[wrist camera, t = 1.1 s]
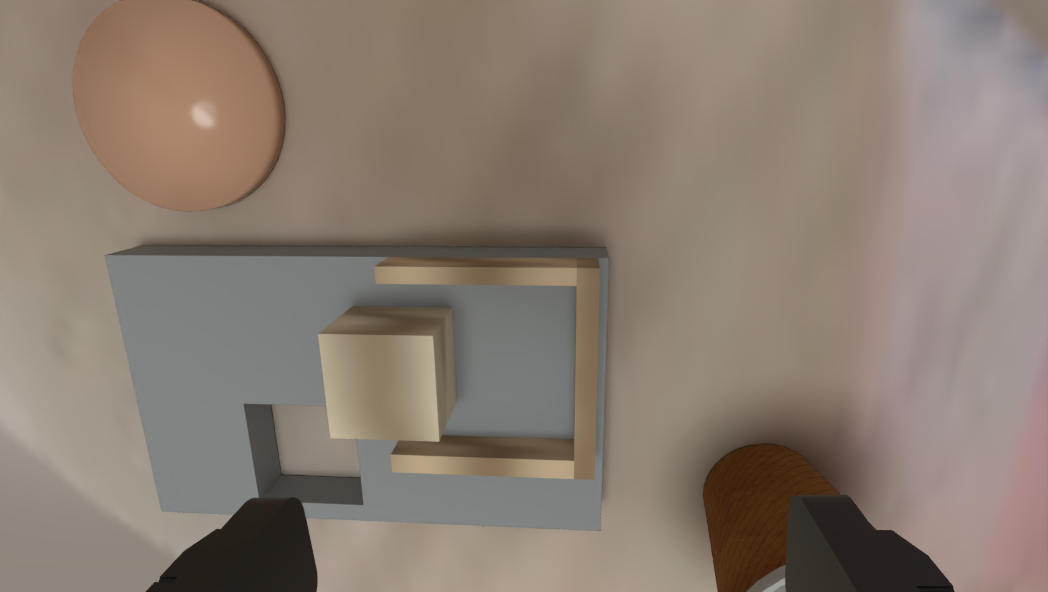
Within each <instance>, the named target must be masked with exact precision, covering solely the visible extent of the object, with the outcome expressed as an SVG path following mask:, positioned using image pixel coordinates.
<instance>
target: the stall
mask: <svg viewBox="0 0 1048 592" xmlns="http://www.w3.org/2000/svg"><path fill="white" fill-rule="evenodd" d="M374 270H375V281H376V284H440V285H539V286H576V330H575V400H574V439H549V438H517V437H486V436H455V435H442V437H441V439H440V441H439V442H433V441H403V440H398V442H397V444H396V446H395V448H394V449H393V451H392V453H391V465H392V472H397V473H424V474H451V475H477V476H504V477H530V478H557V479H584V480H595V444H596V406H597V368H598V330H599V292H600V265H599V260H598V258H476V257H387V258H386V259H384V260H383V261H382V262H380V263H379V264H377V265H376V266H374Z"/></svg>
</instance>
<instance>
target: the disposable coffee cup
mask: <svg viewBox="0 0 1048 592" xmlns="http://www.w3.org/2000/svg"><path fill="white" fill-rule="evenodd" d="M794 495H841V494H840V493H839V492H838V491H837V490H836V489H835V488H834V487H833V486H832V485H830V483H829V482H828V481H827V480H826V479H825V478H823V476H822V475H820V474H819V473H818V472H817V470H815V469H814V468H813V467H812V466H811V465H810V464H809V463H808V462H807V460H806V459H805V458H804V457H802V456H801V455H799V454H798V453H796V452H795V451H792V450H790V449H788V448H786V447H782V446H777V445H770V444H759V445H752V446H747V447H744V448H741V449H738V450H735V451H733V452H731V453H730V454H728V455H727V456H725V457H724V458H722V459H721V460H720V461H719V462H718V463H717V464H716V465H715V466H714V467H713V469H712V470H711V472H710V474H709V475H708V477H707V479H706V482H705V485H704V492H703V498H704V505H705V511H706V518H707V524H708V530H709V537H710V543H711V550H712V557H713V564H714V570H715V576H716V583H717V589H718V592H786V587H785V568H786V551H787V534H788V517H789V505H790V500H791V498H792V497H793V496H794ZM870 525H871V524H870ZM871 526H872V525H871ZM872 527H873V526H872ZM873 529H874V530H876V529H875V528H874V527H873Z"/></svg>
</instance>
